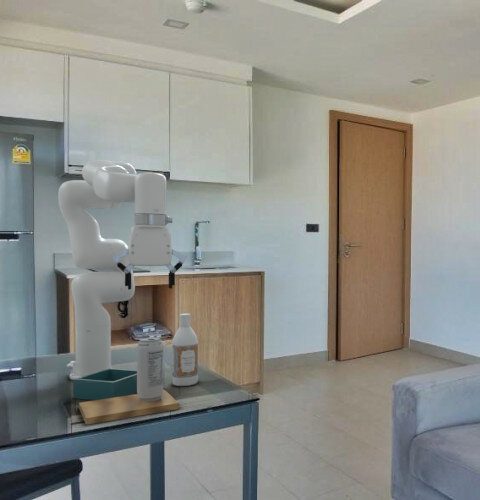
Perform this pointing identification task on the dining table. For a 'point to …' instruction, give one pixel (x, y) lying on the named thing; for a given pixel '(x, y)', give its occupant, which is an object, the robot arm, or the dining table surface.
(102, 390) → the teal open tray
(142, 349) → the energy drink can
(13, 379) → the dining table surface
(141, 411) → the oak board
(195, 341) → the bath foam
